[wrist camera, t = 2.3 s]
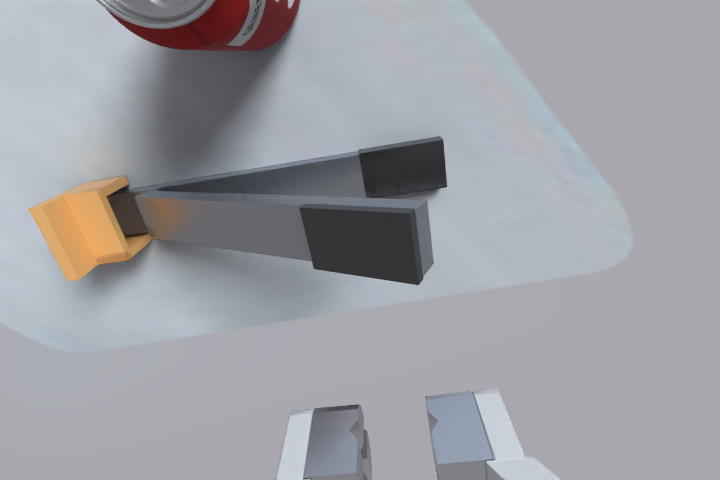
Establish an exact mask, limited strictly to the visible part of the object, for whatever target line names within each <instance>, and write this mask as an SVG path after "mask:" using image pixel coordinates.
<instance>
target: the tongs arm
mask: <svg viewBox="0 0 720 480" xmlns="http://www.w3.org/2000/svg"><path fill="white" fill-rule="evenodd" d="M134 198H135V200H136V203H137V205H138V207H139V210H140V212H141V215H142V217H143V219H144V222H145V224H146V226H147V229H148V231H149V234H150V236H151V238H152V239H159V240H166V241H173V242H180V243H187V244H194V245H202V246H209V247H216V248H223V249H230V250H237V251H244V252H251V253H258V254H265V255H272V256H279V257H286V258H293V259H300V260H307V261H312V262H313V267H314V269H318V270H324V271H331V272H337V273H344V274H350V275H357V276H363V277H370V278H376V279H383V280H389V281H396V282H402V283H408V284H415V285H419V284H420V283H421V281H422V280H423V276H424V275H425V274H426V273H427V271H428V270H429V269H430V267H431V266H432V265H433V264H434V262H433V252H432V243H431V233H430V223H429V214H428V204H427V200H415V199H384V198H354V197H323V196H293V195H263V194H232V193H202V192H171V191H149V192H146V193H144V194H141V195H138V196H136V197H134Z"/></svg>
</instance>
